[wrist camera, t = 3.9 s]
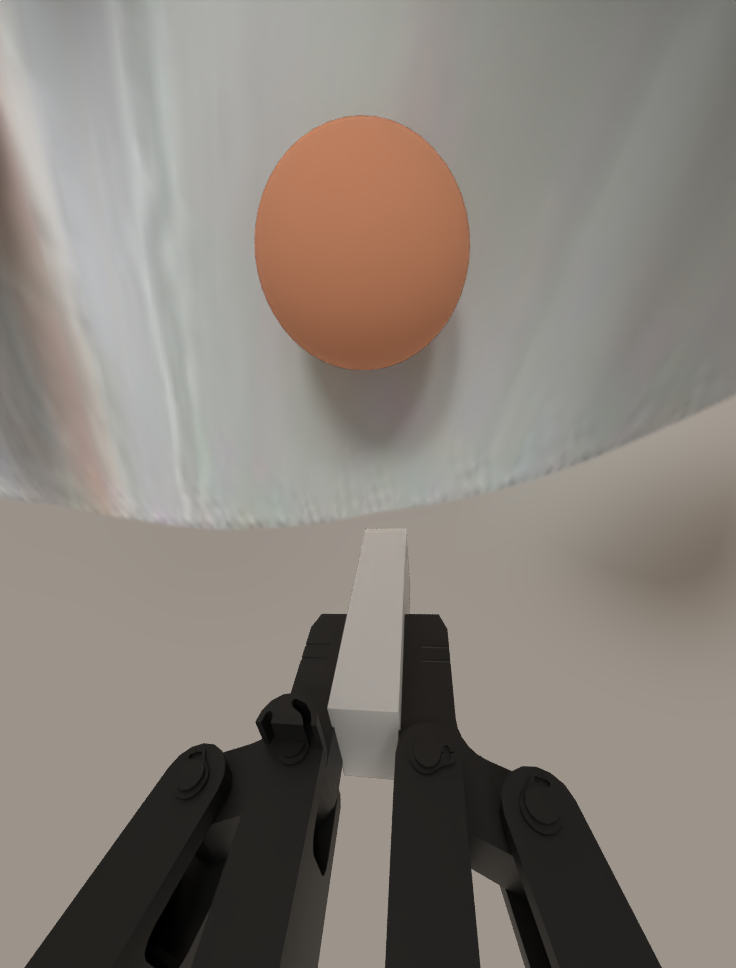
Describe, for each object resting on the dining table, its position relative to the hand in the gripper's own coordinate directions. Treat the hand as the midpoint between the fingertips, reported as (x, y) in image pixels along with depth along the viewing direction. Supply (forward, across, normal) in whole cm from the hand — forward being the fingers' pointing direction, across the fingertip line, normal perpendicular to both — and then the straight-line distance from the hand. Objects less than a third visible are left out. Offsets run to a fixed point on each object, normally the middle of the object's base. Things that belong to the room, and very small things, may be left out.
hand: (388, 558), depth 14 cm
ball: (+1, 0, +10) cm, 10 cm away
